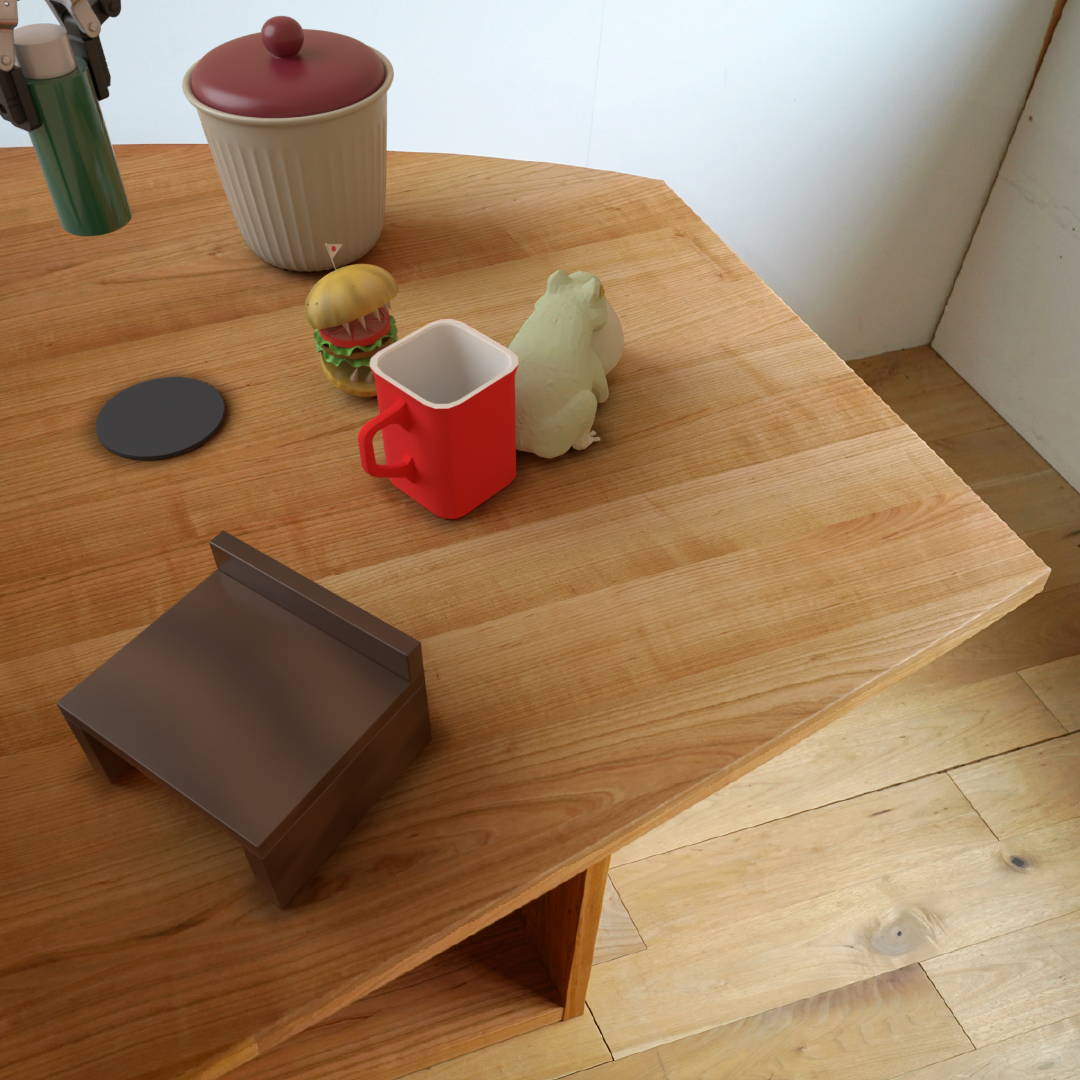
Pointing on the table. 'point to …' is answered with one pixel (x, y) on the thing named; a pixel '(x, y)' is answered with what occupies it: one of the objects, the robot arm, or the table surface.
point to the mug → (444, 417)
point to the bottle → (71, 133)
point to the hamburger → (352, 322)
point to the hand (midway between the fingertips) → (60, 110)
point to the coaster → (160, 418)
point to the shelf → (261, 711)
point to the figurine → (564, 364)
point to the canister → (298, 140)
